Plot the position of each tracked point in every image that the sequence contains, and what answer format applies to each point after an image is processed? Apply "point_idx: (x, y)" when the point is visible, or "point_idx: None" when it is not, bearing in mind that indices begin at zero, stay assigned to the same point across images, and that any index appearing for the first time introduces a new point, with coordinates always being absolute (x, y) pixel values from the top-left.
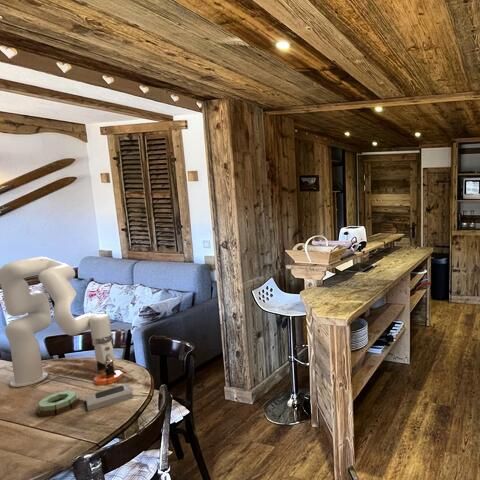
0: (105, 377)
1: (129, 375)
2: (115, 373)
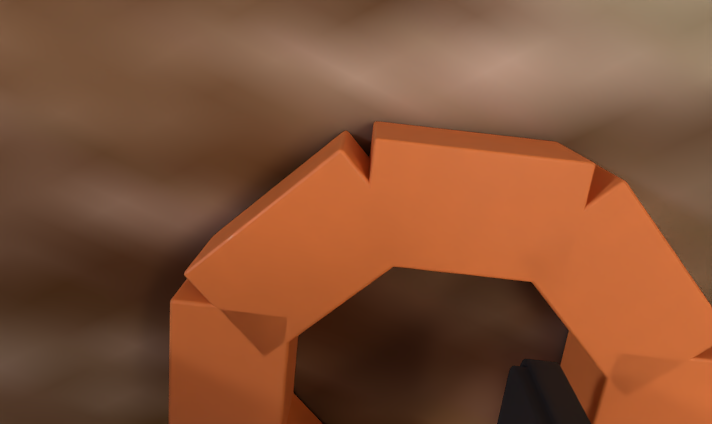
0: (294, 359)
1: (697, 42)
2: (461, 269)
